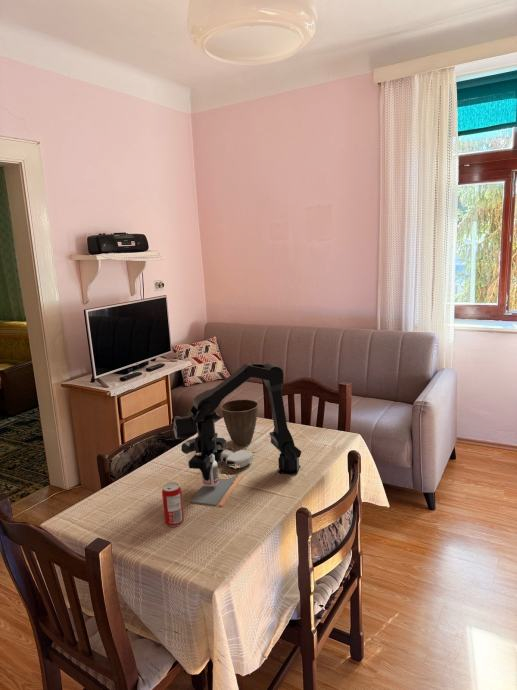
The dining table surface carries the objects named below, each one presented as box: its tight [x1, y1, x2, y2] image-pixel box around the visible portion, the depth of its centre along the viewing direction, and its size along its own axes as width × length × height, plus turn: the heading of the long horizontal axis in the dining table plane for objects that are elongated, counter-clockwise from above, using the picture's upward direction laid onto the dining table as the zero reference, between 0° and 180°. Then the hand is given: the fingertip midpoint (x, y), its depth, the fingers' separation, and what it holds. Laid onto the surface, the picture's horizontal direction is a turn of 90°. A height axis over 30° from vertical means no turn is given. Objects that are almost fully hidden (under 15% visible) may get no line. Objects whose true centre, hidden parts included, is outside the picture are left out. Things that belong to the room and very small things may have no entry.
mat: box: [189, 474, 238, 507], centre depth 165 cm, size 9×20×1 cm, turn 163°
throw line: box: [218, 474, 244, 508], centre depth 163 cm, size 1×20×1 cm, turn 163°
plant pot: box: [220, 399, 259, 447], centre depth 199 cm, size 15×15×16 cm
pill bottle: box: [201, 454, 219, 487], centre depth 164 cm, size 5×5×10 cm
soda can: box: [161, 481, 185, 527], centre depth 145 cm, size 6×6×12 cm
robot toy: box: [219, 448, 257, 469], centre depth 182 cm, size 12×4×15 cm
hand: (210, 476), depth 164 cm, fingers closed on pill bottle, 5 cm apart
